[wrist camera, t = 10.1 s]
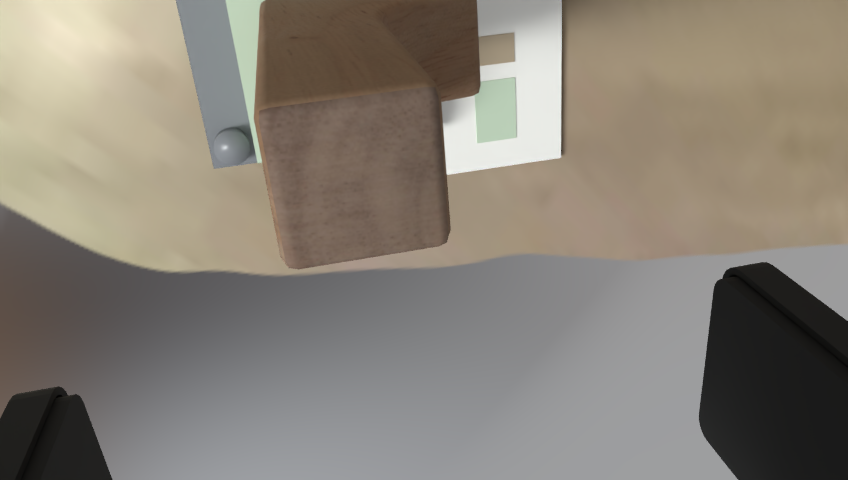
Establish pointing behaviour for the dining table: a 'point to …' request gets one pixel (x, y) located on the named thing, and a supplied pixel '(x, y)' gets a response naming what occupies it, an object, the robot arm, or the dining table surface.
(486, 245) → the dining table surface
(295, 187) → the wooden block
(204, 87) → the baseplate
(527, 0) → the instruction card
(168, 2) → the dining table surface
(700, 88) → the dining table surface
